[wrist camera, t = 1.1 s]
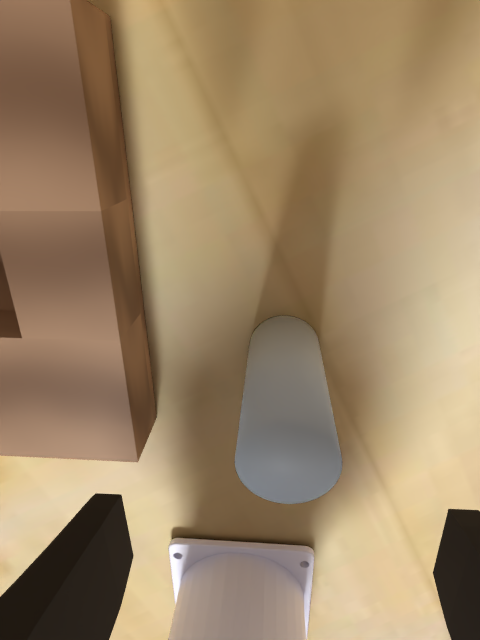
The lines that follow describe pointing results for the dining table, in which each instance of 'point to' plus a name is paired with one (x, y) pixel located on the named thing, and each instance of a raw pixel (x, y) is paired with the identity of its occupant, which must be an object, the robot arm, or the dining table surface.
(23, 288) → the socket block
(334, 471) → the pin
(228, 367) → the dining table surface
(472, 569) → the robot arm
